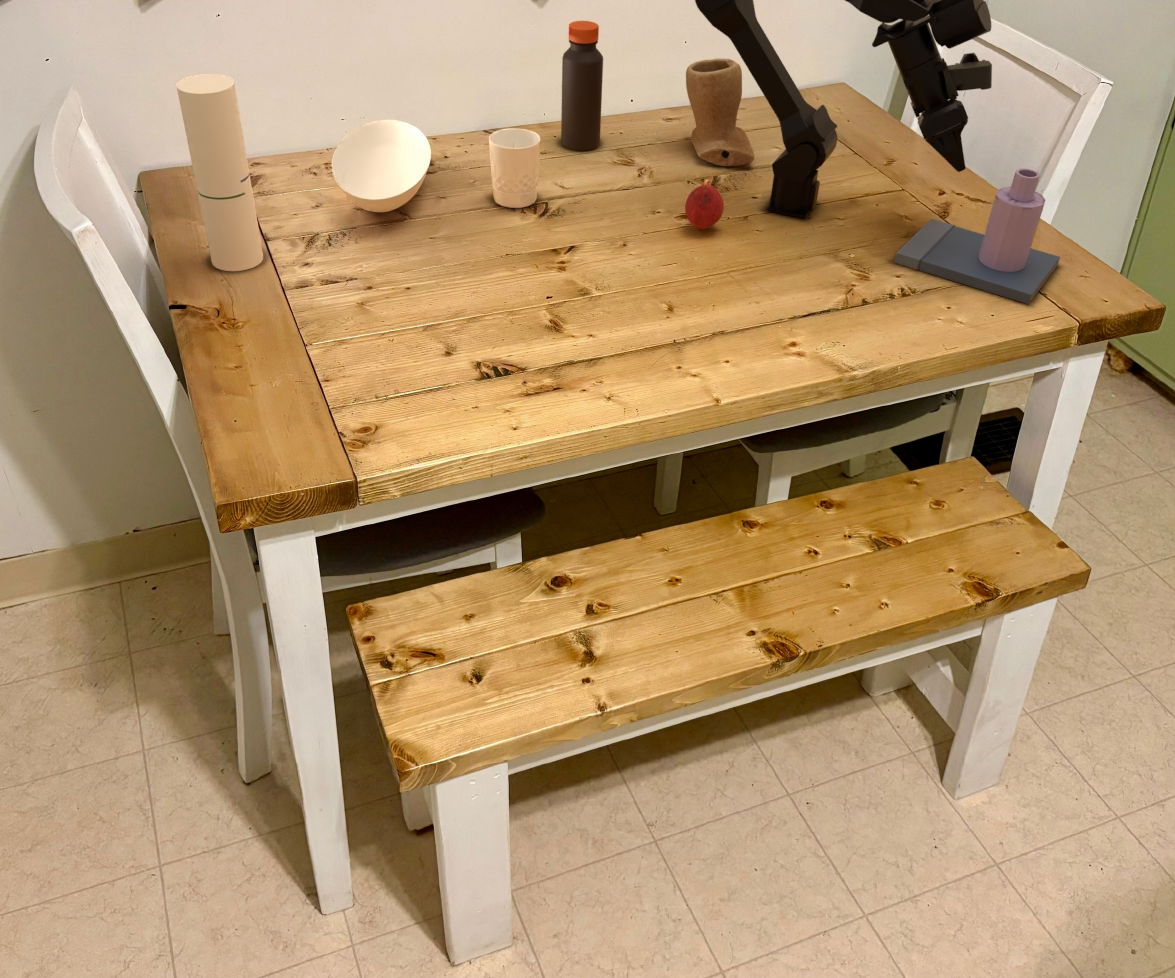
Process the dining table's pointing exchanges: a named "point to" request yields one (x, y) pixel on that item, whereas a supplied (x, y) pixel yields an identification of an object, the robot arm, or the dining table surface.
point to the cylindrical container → (221, 170)
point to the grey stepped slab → (972, 262)
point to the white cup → (514, 166)
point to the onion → (704, 206)
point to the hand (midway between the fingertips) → (958, 163)
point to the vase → (1012, 223)
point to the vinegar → (582, 88)
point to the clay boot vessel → (717, 112)
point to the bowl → (381, 164)
